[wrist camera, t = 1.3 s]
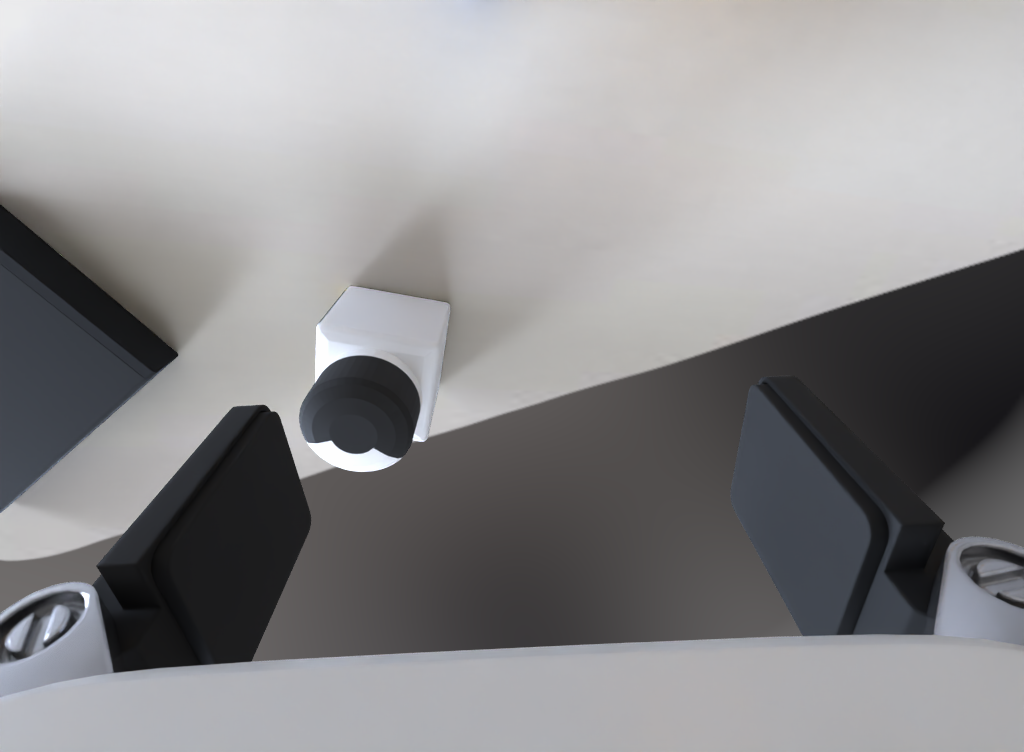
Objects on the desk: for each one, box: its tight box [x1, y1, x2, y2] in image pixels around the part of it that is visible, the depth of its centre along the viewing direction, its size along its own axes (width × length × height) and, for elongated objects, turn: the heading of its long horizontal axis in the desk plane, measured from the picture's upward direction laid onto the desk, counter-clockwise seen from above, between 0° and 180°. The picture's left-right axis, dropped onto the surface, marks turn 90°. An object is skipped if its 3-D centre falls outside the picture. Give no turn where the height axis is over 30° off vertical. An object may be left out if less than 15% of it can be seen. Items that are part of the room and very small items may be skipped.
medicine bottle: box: [299, 286, 451, 472], centre depth 33 cm, size 7×7×12 cm
